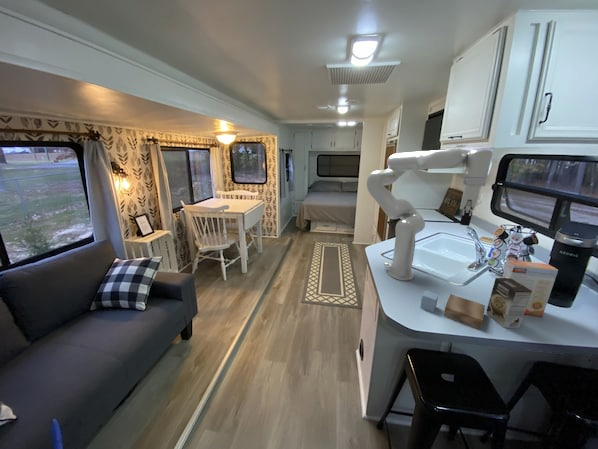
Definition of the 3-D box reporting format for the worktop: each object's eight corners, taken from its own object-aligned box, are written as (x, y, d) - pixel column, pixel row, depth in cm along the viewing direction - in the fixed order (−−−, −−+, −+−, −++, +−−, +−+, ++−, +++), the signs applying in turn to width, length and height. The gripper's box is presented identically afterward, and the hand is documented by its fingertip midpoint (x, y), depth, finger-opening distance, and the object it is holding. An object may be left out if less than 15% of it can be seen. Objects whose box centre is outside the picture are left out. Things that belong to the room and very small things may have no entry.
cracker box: (533, 308, 99) (549, 263, 93) (542, 317, 94) (560, 270, 88) (494, 302, 103) (506, 258, 97) (501, 310, 98) (514, 265, 92)
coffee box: (484, 312, 96) (494, 277, 92) (500, 312, 96) (511, 277, 92) (503, 328, 88) (514, 290, 83) (520, 328, 88) (533, 290, 83)
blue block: (420, 307, 99) (422, 295, 97) (423, 302, 103) (425, 290, 101) (433, 312, 96) (435, 300, 94) (436, 306, 100) (438, 294, 98)
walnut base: (443, 315, 94) (445, 307, 93) (448, 301, 103) (450, 294, 102) (480, 329, 87) (483, 320, 86) (482, 313, 96) (485, 305, 95)
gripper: (464, 179, 103) (456, 217, 108) (461, 182, 90) (452, 225, 95) (486, 180, 99) (476, 219, 104) (485, 184, 86) (475, 229, 91)
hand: (465, 222), depth 99 cm, fingers open, 9 cm apart
